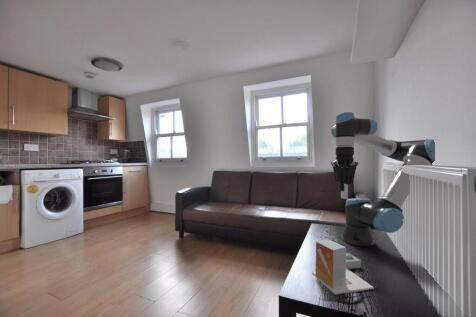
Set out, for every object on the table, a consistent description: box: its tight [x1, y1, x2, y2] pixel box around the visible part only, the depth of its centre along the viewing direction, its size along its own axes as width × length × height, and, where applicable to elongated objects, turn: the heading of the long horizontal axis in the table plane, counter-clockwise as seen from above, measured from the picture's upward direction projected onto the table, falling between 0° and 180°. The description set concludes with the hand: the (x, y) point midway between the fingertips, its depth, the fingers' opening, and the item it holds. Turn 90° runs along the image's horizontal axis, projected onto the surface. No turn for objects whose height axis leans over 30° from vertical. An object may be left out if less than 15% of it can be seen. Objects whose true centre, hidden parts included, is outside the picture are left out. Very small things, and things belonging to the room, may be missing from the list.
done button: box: [346, 252, 353, 260], centre depth 88 cm, size 3×3×2 cm
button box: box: [346, 252, 362, 270], centre depth 88 cm, size 7×7×3 cm
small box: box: [315, 239, 347, 288], centre depth 75 cm, size 8×6×13 cm
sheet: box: [312, 268, 375, 295], centre depth 76 cm, size 15×13×1 cm
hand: (344, 198), depth 96 cm, fingers closed
